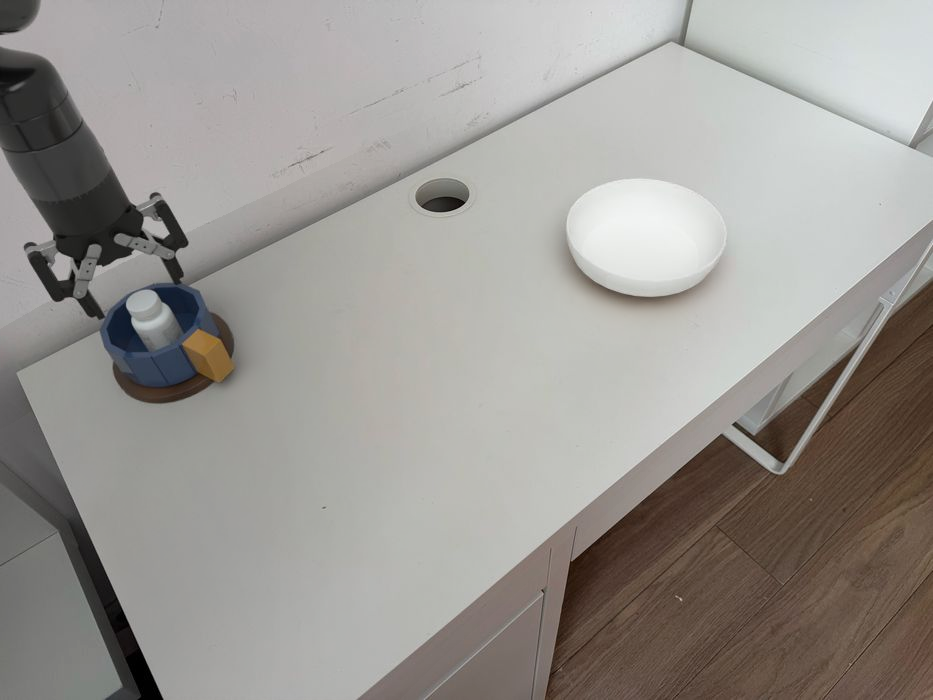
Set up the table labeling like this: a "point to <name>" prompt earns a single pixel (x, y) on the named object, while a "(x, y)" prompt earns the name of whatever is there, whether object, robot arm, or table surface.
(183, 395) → the turntable
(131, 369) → the serving bowl
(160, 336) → the pill bottle
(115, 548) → the table surface
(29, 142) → the robot arm
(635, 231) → the bowl
